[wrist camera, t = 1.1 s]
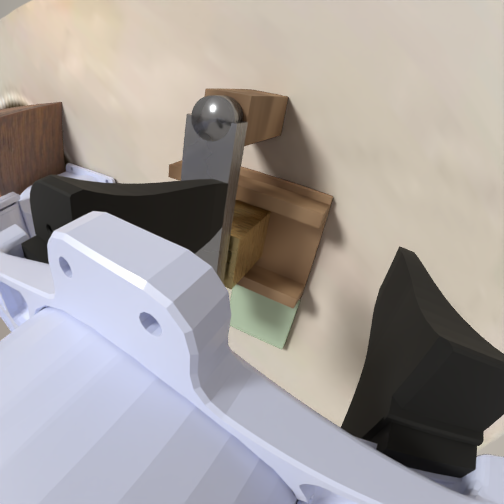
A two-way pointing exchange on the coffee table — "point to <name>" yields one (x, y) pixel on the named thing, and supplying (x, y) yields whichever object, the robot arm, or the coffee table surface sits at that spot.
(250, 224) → the tan cube
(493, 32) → the coffee table surface
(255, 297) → the pad
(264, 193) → the body
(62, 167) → the tissue box cover
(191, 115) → the lever
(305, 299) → the coffee table surface
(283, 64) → the coffee table surface
